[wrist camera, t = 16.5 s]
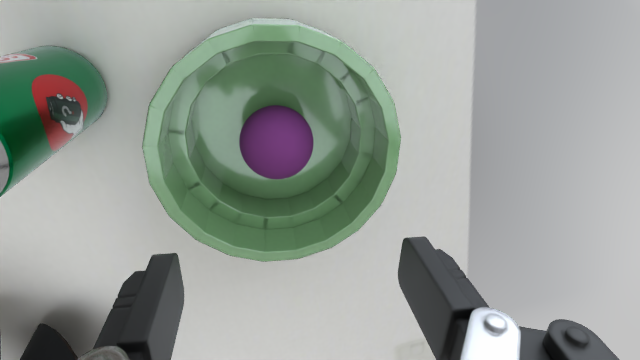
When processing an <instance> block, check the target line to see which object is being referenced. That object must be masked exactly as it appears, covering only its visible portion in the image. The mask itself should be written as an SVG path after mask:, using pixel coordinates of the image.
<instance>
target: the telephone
mask: <svg viewBox="0 0 640 360" xmlns="http://www.w3.org/2000/svg"><path fill="white" fill-rule="evenodd" d="M77 359H78V358H77V356H76V355H75V353H74V352H73V350H72V348H71V346H70V345H69V344H68V342H67V341H66V340H65V339H64V338H63V336H62V335H61V334H60V333H59V332H57V331H56V330H55V329H53V328H51V327H49V326H48V325H46V324H43V323H42V324H40V325H39V326H38V327H37V329H36V331H35V332H34V334H33V336H32V338H31V340H30V342H29V344H28V345H27V347H26V349H25V351H24V353H23V355H22V357H21V358H20V360H77ZM0 360H1V334H0Z"/></svg>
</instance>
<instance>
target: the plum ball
mask: <svg viewBox="0 0 640 360" xmlns="http://www.w3.org/2000/svg"><path fill="white" fill-rule="evenodd" d="M313 144H314V141H313V134H312V131H311V128H310V126H309V124H308V123H307V121H306V120H305V118H304V117H303V116H302V115H301V114H299V113H298V112H297V111H295V110H293V109H291V108H289V107H286V106H281V105H271V106H266V107H263V108H261V109H259V110H257V111H255V112H254V113H253V114H252V115H251V116H249V118H248V119H247V120H246V121H245V123H244V125H243V127H242V129H241V133H240V138H239V146H240V151H241V155H242V157H243V159H244V161H245V162H246V164H247V165H248V166H249V168H251V169H252V170H253V171H254V172H255V173H257V174H258V175H260V176H262V177H265V178H269V179H285V178H288V177H291V176H293V175H295V174H297V173H298V172H300V171H301V170H302V169H303V168H304V167H305V166H306V164H307V163H308V161H309V159H310V157H311V155H312V151H313Z"/></svg>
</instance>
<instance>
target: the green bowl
mask: <svg viewBox="0 0 640 360" xmlns="http://www.w3.org/2000/svg"><path fill="white" fill-rule="evenodd" d="M271 105H281V106H286V107H289V108H291V109H293V110H295V111H297V112H298V113H299V114H301V115H302V116H303V117H304V118H305V120H306V121H307V123H308V124H309V126H310V128H311V131H312V134H313V141H314V144H313V151H312V155H311V157H310V159H309V161H308V163H307V164H306V166H305V167H304V168H303V169H302V170H301V171H300V172H298V173H297V174H295V175H293V176H291V177H288V178H285V179H269V178H265V177H262V176H260V175H258V174H257V173H255V172H254V171H253V170H252V169H251V168H249V166H248V165H247V164H246V162H245V161H244V159H243V157H242V155H241V151H240V146H239V138H240V133H241V129H242V127H243V125H244V123H245V121H246V120H247V119H248V118H249V116H251V115H252V114H253V113H254V112H255V111H257V110H259V109H261V108H263V107H266V106H271ZM400 138H401V135H400V130H399V125H398V120H397V115H396V109H395V104H394V102H393V99H392V98H391V96H390V94H389V93H388V91H387V89H386V87H385V86H384V84H383V82H382V81H381V79H380V77H379V75H378V74H377V72H376V70H375V69H374V68H373V67H372V66H371V65H370V64H369V63H368V62H366V61H365V60H364V59H363V58H362V57H360V56H359V55H358V54H357V53H356V52H354V51H353V50H352V49H351V48H350V47H349V46H347V45H346V44H345V43H344V42H342V41H340V40H339V39H337V38H335V37H333V36H331V35H330V34H328V33H326V32H324V31H321V30H319V29H316V28H313V27H311V26H308V25H306V24H303V23H300V22H298V21H295V20H292V19H279V18H251V19H248V20H245V21H242V22H239V23H236V24H233V25H230V26H227V27H224V28H221V29H218V30H216V31H215V32H213V33H212V34H211V35H210V36H208V37H207V38H206V39H205V40H203V41H202V42H201V43H200V44H198V45H197V46H196V47H195V48H193V49H192V50H191V51H190V52H188V53H187V54H186V55H185V56H184V57H183V58H182V59H180V60H179V61H178V62H177V63H176V64H175V65H173V66H172V68H171V69H170V70H169V72H168V74H167V75H166V77H165V79H164V80H163V82H162V84H161V85H160V87H159V89H158V91H157V92H156V94H155V96H154V97H153V99H152V101H151V102H150V105H149V108H148V114H147V120H146V126H145V132H144V138H143V146H142V148H143V153H144V158H145V163H146V168H147V173H148V178H149V183H150V185H151V187H152V188H153V190H154V192H155V194H156V195H157V197H158V199H159V200H160V202H161V204H162V205H163V207H164V209H165V210H166V212H167V214H168V215H169V216H170V218H172V219H173V220H174V221H175V222H176V223H177V224H178V225H180V226H181V227H182V228H183V229H184V230H185V231H186V232H188V233H189V234H190V235H191V236H192V237H193V238H194V239H196V240H198V241H199V242H202V243H204V244H206V245H208V246H210V247H212V248H214V249H217V250H219V251H221V252H223V253H225V254H227V255H230V256H234V257H240V258H246V259H251V260H257V261H278V260H291V259H298V258H302V257H305V256H308V255H311V254H314V253H317V252H320V251H323V250H326V249H329V248H332V247H333V246H335V245H336V244H338V243H340V242H341V241H343V240H344V239H346V238H347V237H349V236H350V235H352V234H353V233H355V232H356V231H358V230H359V229H360V228H361V227H362V226H363V225H364V224H365V223H366V221H367V220H368V219H369V218H370V217H371V216H372V215H373V214H374V212H375V211H376V210H377V209H378V208H379V207H380V206H381V204H382V202H383V200H384V198H385V196H386V194H387V192H388V190H389V187H390V185H391V183H392V181H393V179H394V177H395V175H396V171H397V163H398V156H399V149H400V141H401V139H400Z"/></svg>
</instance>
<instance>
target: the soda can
mask: <svg viewBox="0 0 640 360" xmlns="http://www.w3.org/2000/svg"><path fill="white" fill-rule="evenodd" d="M106 102H107V92H106V87H105V84H104V81H103V79H102V77H101V76H100V74H99V73H98V71H97V70H96V68H95V67H94V66H93V65H92V64H91V63H90V62H89V61H87V60H86V59H85V58H84V57H82V56H81V55H79V54H77V53H75V52H73V51H71V50H68V49H65V48H62V47H57V46H41V47H37V48H33V49H29V50H25V51H21V52H16V53H12V54H8V55H4V56H0V197H1V196H2V195H3V194H5V193H6V192H7V191H8V190H10V189H11V188H12V187H13V186H15V185H16V184H17V183H18V182H20V181H21V180H22V179H23V178H25V177H26V176H27V175H28V174H30V173H31V172H32V171H33V170H35V169H36V168H37V167H38V166H40V165H41V164H42V163H43V162H45V161H46V160H47V159H48V158H50V157H51V156H52V155H53V154H55V153H56V152H57V151H59V150H60V149H61V148H62V147H64V146H65V145H66V144H67V143H69V142H70V141H71V140H72V139H74V138H75V137H76V136H77V135H79V134H80V133H81V132H82V131H84V130H85V129H86V128H87V127H89V126H90V125H91V124H92V123H94V122H95V121H96V120H97V119H98V118H99V117H100V116H101V115H102V113H103V111H104V109H105V107H106Z"/></svg>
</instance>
